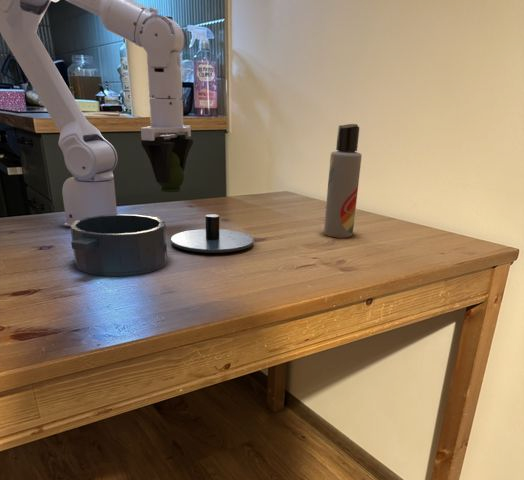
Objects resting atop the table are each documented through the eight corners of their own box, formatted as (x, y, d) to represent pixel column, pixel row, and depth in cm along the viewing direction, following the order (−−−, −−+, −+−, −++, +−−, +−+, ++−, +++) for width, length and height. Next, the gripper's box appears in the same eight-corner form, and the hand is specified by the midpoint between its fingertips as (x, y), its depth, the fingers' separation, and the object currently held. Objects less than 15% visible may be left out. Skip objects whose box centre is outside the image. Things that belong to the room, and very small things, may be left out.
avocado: (151, 191, 92) (148, 151, 89) (165, 187, 96) (163, 149, 93) (176, 193, 90) (174, 153, 87) (189, 189, 95) (188, 151, 92)
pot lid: (155, 249, 85) (153, 219, 82) (194, 231, 97) (193, 204, 95) (234, 260, 80) (235, 228, 78) (264, 240, 93) (265, 212, 91)
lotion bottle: (358, 236, 98) (371, 125, 89) (337, 239, 95) (348, 124, 86) (338, 230, 102) (349, 123, 93) (317, 233, 99) (326, 123, 90)
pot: (43, 273, 71) (36, 232, 69) (120, 243, 87) (116, 208, 85) (125, 287, 67) (121, 243, 65) (189, 252, 84) (188, 216, 81)
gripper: (165, 99, 79) (170, 187, 85) (204, 100, 91) (205, 177, 98) (127, 97, 81) (134, 184, 87) (170, 98, 93) (173, 174, 100)
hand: (169, 180), depth 93 cm, fingers closed on avocado, 5 cm apart
